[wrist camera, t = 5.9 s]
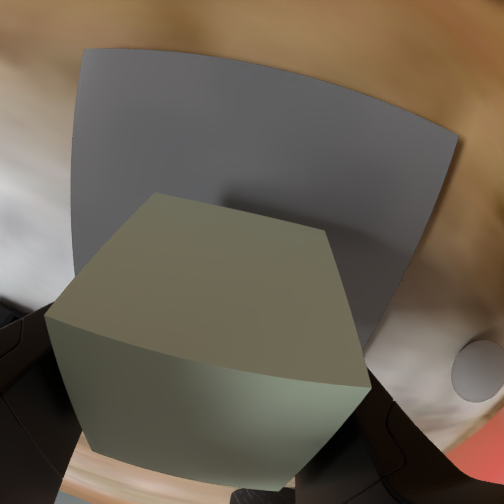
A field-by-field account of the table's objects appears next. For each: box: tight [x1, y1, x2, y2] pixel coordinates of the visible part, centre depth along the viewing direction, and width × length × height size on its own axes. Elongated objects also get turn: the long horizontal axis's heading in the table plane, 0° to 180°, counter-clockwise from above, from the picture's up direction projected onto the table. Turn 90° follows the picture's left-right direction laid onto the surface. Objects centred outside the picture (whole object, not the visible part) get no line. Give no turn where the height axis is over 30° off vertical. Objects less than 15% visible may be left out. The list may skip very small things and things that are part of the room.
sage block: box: [44, 193, 372, 491], centre depth 7 cm, size 4×4×5 cm
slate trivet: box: [71, 49, 459, 349], centre depth 11 cm, size 12×12×1 cm
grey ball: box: [451, 340, 504, 402], centre depth 12 cm, size 3×3×3 cm
